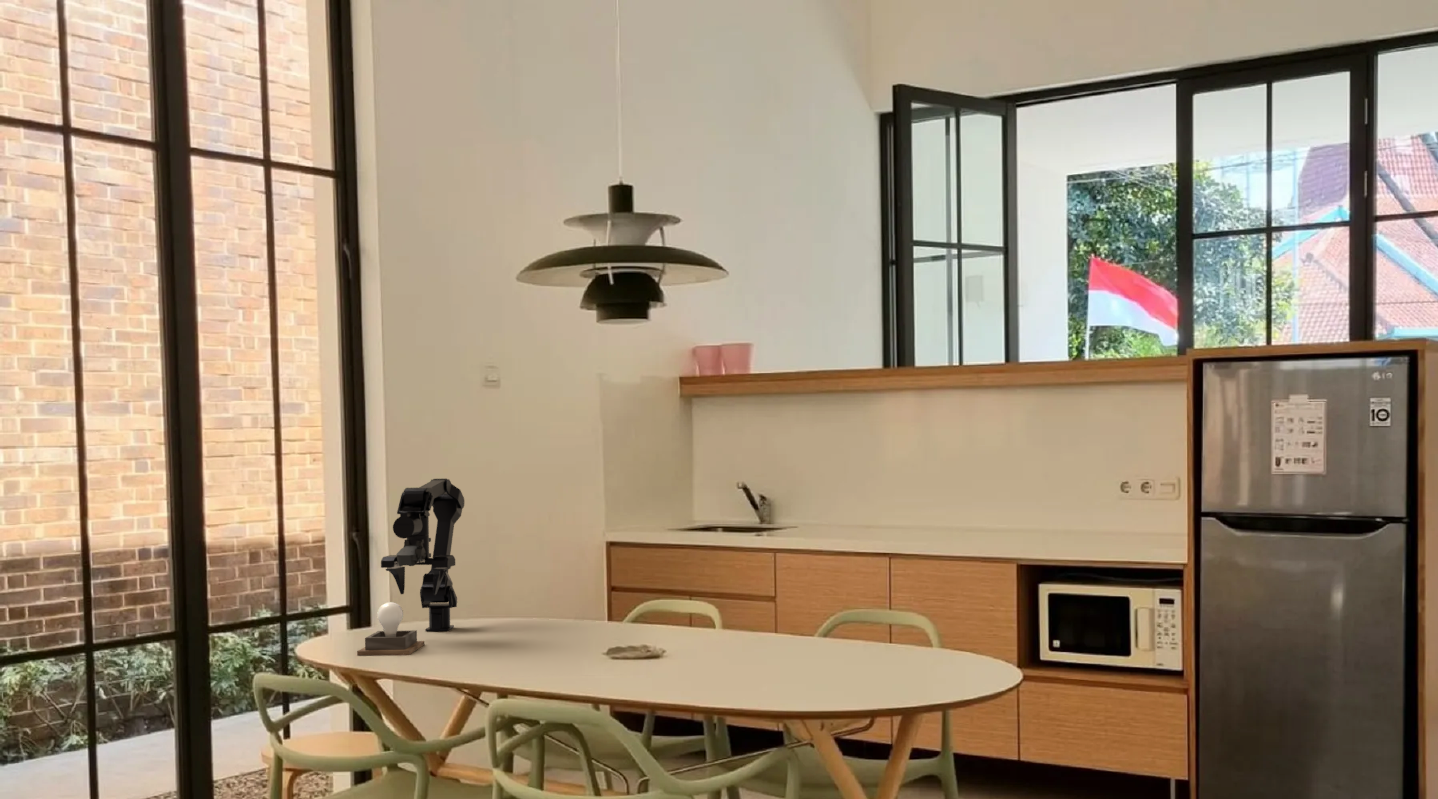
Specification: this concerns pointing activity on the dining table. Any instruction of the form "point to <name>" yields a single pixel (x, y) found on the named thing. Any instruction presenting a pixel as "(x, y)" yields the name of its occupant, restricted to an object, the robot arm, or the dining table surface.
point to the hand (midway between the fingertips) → (418, 594)
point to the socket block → (391, 644)
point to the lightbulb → (390, 618)
